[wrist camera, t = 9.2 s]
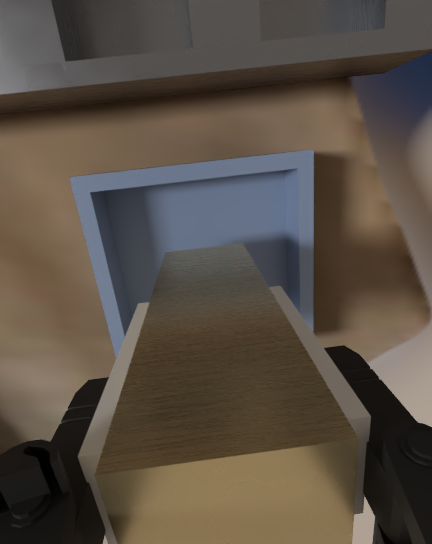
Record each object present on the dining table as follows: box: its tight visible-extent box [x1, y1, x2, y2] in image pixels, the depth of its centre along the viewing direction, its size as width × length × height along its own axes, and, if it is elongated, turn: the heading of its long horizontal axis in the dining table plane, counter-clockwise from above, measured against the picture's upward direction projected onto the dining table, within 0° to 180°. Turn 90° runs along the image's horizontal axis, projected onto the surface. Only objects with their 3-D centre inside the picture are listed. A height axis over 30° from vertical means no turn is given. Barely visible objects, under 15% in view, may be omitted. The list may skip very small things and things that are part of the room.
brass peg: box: [94, 243, 359, 544], centre depth 11 cm, size 4×4×12 cm
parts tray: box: [69, 150, 314, 358], centre depth 19 cm, size 12×12×3 cm
